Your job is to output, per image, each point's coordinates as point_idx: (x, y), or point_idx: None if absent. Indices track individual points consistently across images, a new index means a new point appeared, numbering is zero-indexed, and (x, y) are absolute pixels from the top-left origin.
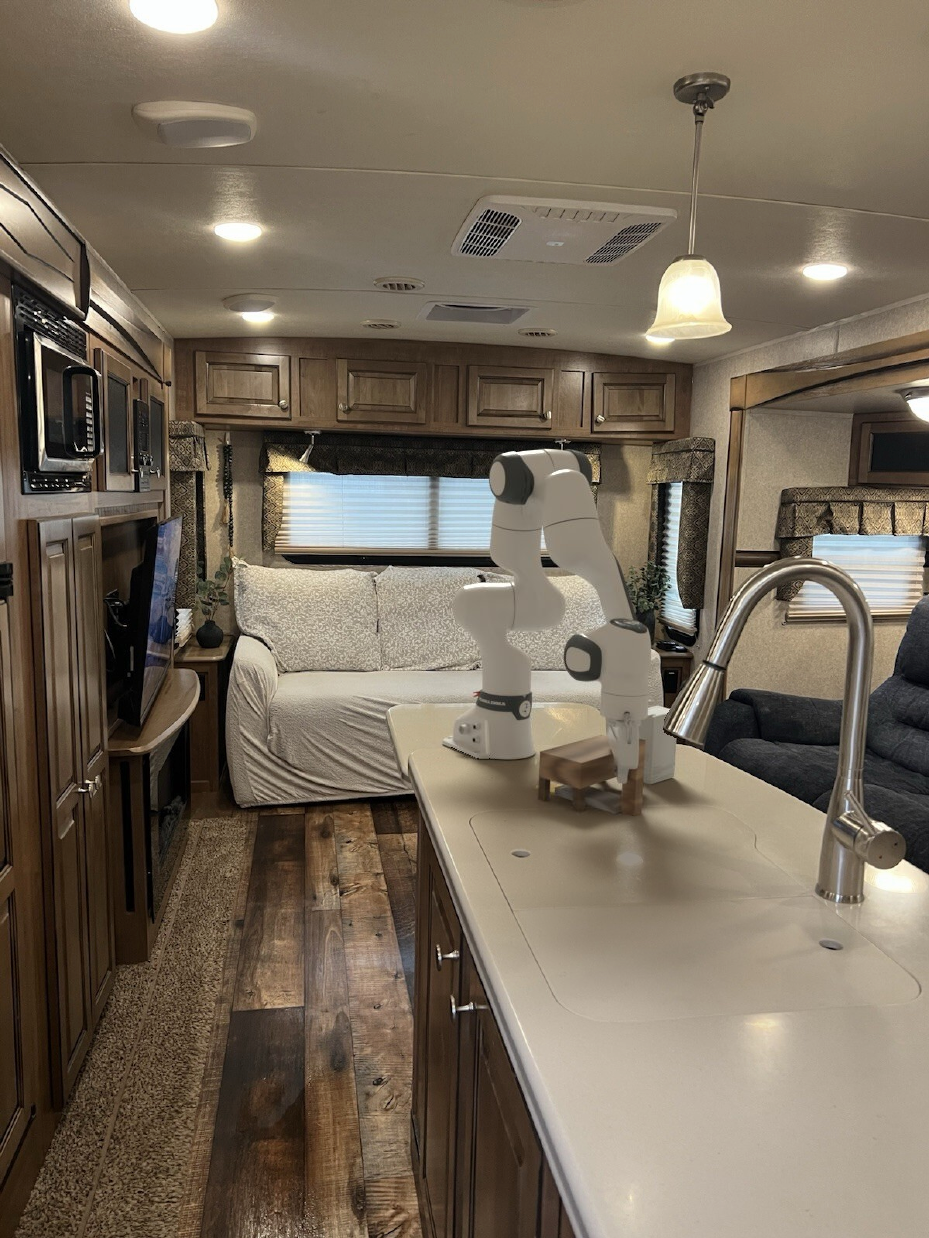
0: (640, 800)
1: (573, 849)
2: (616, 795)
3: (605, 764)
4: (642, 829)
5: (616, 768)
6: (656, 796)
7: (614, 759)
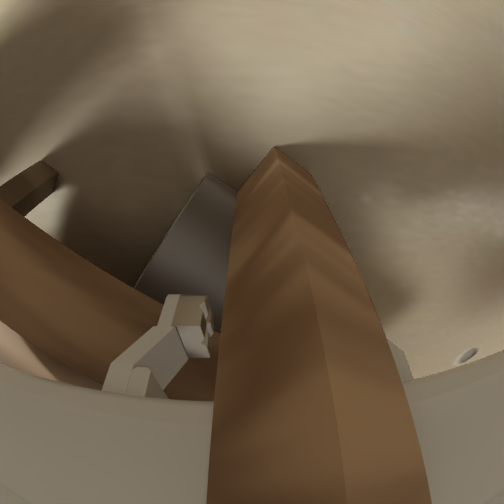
0: (289, 169)
1: (483, 307)
2: (179, 243)
3: (181, 377)
4: (429, 167)
5: (210, 345)
6: (71, 99)
7: (169, 380)
